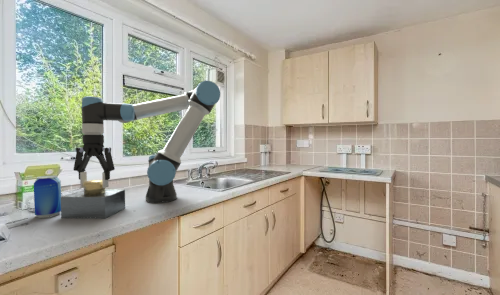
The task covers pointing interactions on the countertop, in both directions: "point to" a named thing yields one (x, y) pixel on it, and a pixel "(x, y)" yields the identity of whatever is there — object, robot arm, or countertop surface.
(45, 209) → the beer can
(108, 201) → the block
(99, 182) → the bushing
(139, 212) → the countertop surface
